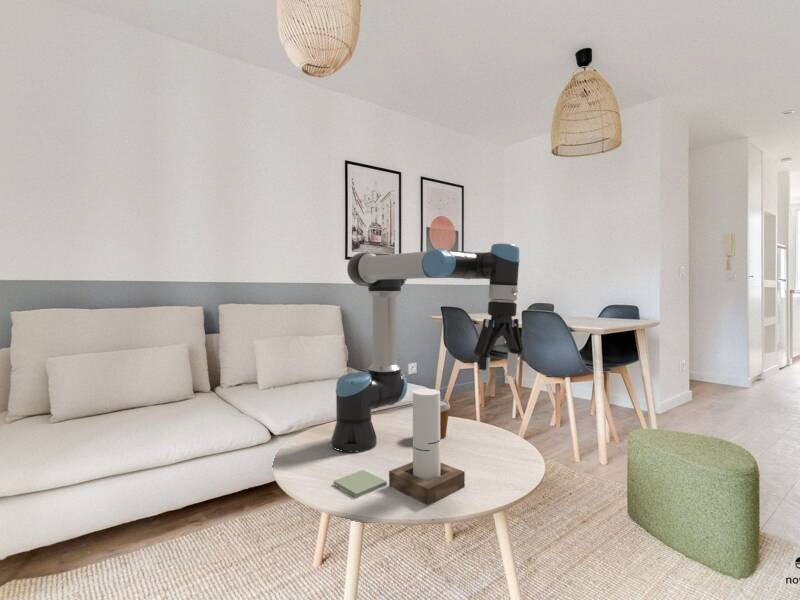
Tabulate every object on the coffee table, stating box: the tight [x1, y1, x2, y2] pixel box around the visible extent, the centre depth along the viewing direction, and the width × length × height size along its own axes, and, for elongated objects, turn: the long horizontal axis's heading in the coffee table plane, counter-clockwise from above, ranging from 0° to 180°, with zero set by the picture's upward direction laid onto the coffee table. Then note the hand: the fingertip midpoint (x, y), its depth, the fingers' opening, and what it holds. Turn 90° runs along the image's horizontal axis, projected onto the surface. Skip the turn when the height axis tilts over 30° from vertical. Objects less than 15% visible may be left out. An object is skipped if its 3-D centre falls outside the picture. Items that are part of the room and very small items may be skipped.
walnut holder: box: [388, 461, 466, 506], centre depth 110 cm, size 14×14×4 cm
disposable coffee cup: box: [440, 399, 451, 440], centre depth 149 cm, size 10×10×12 cm
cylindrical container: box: [412, 388, 441, 482], centre depth 110 cm, size 7×7×25 cm
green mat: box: [333, 469, 387, 498], centre depth 112 cm, size 10×10×1 cm
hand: (498, 379), depth 115 cm, fingers open, 13 cm apart
